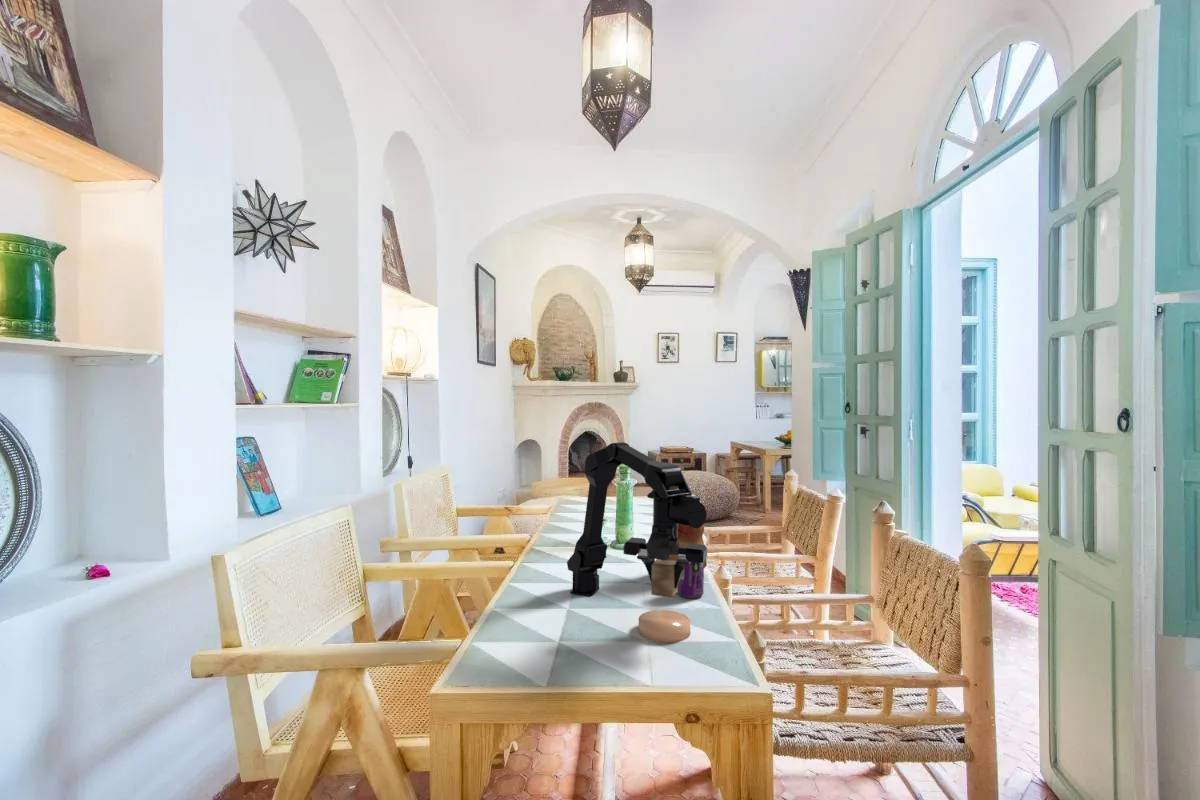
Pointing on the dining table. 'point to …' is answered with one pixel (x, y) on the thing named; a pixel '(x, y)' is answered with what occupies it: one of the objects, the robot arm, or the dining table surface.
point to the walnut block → (663, 578)
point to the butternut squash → (689, 538)
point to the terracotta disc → (664, 626)
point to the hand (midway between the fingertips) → (664, 586)
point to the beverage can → (692, 580)
